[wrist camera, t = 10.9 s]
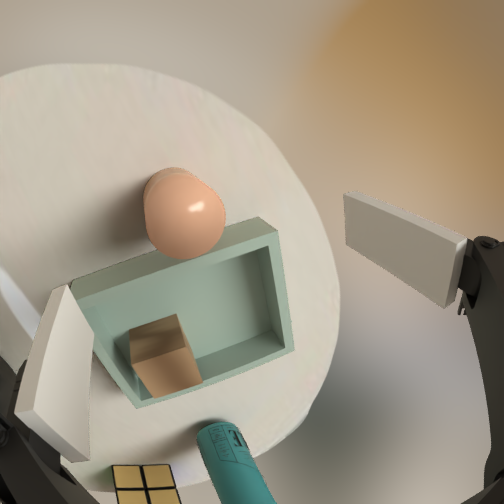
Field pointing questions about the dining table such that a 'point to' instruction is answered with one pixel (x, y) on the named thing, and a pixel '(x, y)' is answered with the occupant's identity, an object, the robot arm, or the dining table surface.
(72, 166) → the dining table surface
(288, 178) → the dining table surface
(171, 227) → the peach rounded smooth part
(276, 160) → the dining table surface
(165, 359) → the walnut cube
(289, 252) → the dining table surface
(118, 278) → the tray
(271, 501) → the beverage bottle
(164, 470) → the puzzle cube
